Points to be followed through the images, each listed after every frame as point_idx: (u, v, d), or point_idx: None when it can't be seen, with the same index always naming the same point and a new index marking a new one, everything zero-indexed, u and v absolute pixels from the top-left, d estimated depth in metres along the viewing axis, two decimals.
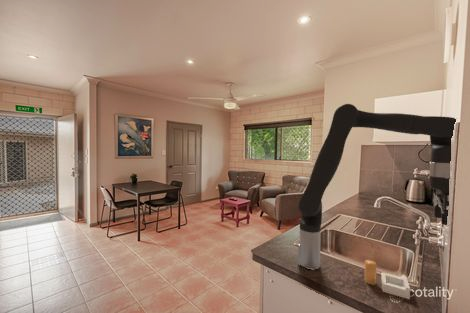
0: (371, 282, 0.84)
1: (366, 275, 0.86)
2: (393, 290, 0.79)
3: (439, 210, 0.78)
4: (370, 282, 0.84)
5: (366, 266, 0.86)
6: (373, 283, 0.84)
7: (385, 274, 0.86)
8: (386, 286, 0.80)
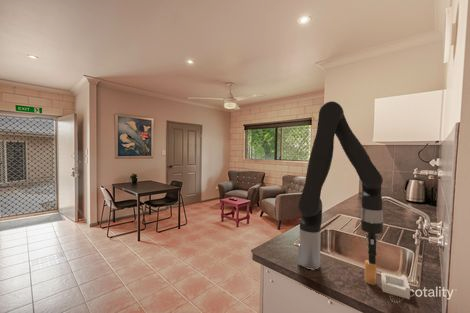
0: (371, 282, 0.84)
1: (366, 275, 0.86)
2: (393, 290, 0.79)
3: None
4: (370, 282, 0.84)
5: (366, 266, 0.86)
6: (373, 283, 0.84)
7: (385, 274, 0.86)
8: (386, 286, 0.80)
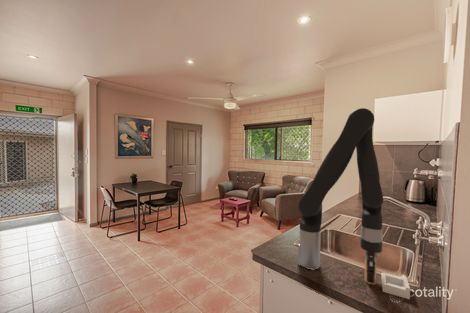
0: None
1: (366, 275, 0.86)
2: (393, 290, 0.79)
3: None
4: (370, 282, 0.84)
5: (366, 266, 0.86)
6: (373, 283, 0.84)
7: (385, 274, 0.86)
8: (386, 286, 0.80)
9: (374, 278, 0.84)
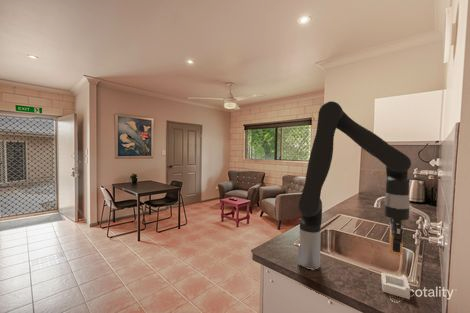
0: (397, 252, 0.80)
1: (392, 245, 0.81)
2: (393, 290, 0.79)
3: None
4: (396, 252, 0.80)
5: (392, 235, 0.81)
6: (399, 253, 0.80)
7: (385, 274, 0.86)
8: (386, 286, 0.80)
9: (400, 247, 0.80)
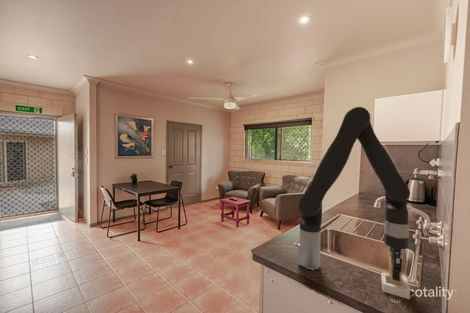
0: None
1: (391, 273, 0.81)
2: (393, 290, 0.79)
3: None
4: None
5: (391, 263, 0.81)
6: (399, 281, 0.80)
7: (385, 274, 0.86)
8: (386, 286, 0.80)
9: (400, 276, 0.80)
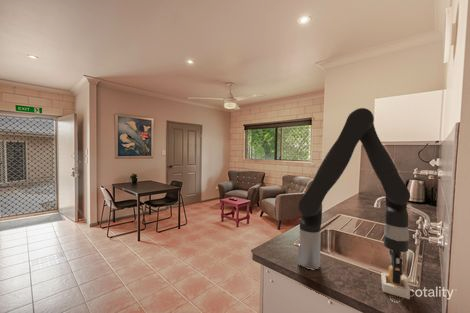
0: None
1: (390, 281, 0.81)
2: (393, 290, 0.79)
3: None
4: None
5: (391, 272, 0.81)
6: None
7: (385, 274, 0.86)
8: (386, 286, 0.80)
9: (399, 285, 0.80)
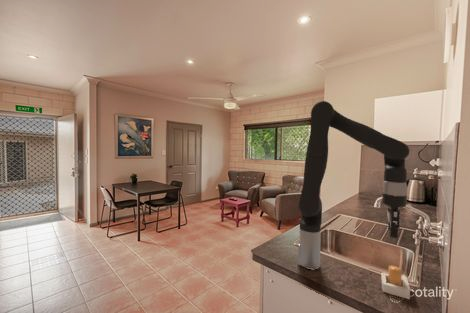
0: None
1: (390, 281, 0.81)
2: (393, 290, 0.79)
3: None
4: None
5: (390, 272, 0.81)
6: None
7: (385, 274, 0.86)
8: (386, 286, 0.80)
9: (399, 285, 0.80)
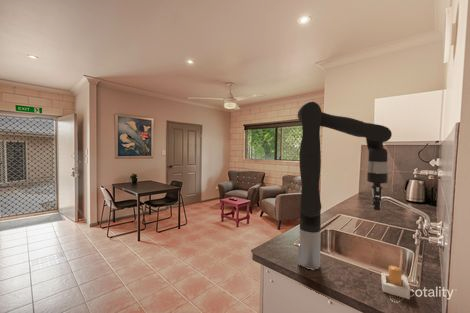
0: None
1: (390, 281, 0.81)
2: (393, 290, 0.79)
3: None
4: None
5: (390, 272, 0.81)
6: None
7: (385, 274, 0.86)
8: (386, 286, 0.80)
9: (399, 285, 0.80)
